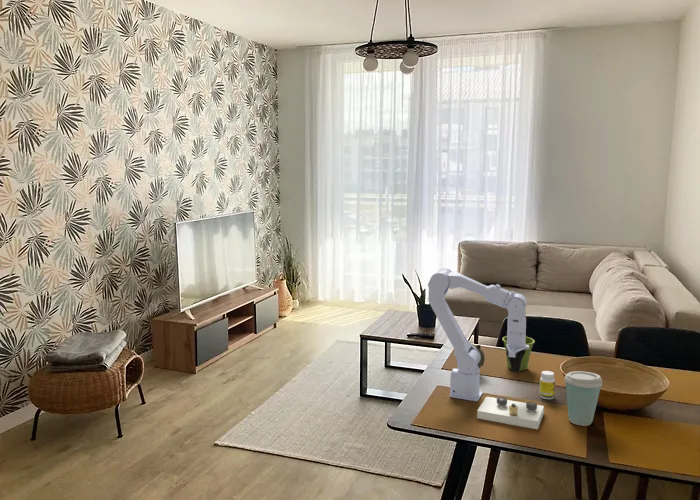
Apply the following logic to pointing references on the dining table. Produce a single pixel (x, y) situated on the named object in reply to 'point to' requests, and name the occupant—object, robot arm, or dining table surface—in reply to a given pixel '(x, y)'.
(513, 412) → the gold domed cylinder
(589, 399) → the disposable coffee cup
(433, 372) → the dining table surface
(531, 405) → the knob
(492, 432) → the dining table surface
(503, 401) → the knob
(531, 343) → the plant pot
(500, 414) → the mount block
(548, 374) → the supplement bottle
